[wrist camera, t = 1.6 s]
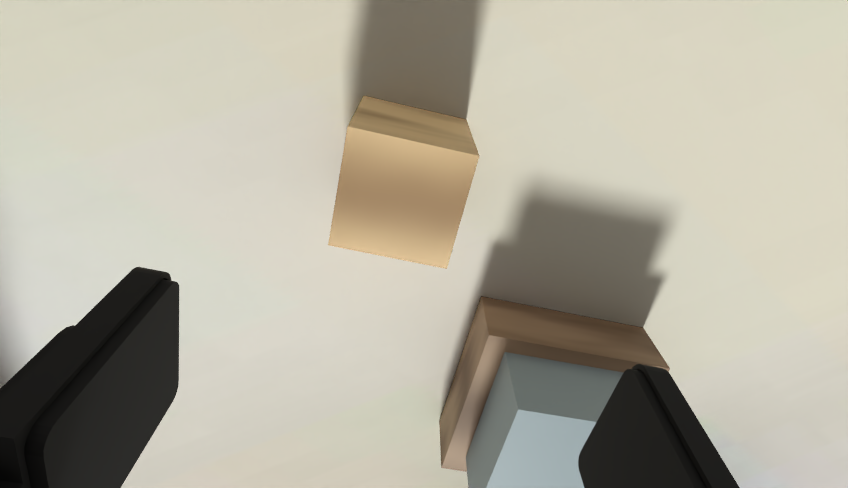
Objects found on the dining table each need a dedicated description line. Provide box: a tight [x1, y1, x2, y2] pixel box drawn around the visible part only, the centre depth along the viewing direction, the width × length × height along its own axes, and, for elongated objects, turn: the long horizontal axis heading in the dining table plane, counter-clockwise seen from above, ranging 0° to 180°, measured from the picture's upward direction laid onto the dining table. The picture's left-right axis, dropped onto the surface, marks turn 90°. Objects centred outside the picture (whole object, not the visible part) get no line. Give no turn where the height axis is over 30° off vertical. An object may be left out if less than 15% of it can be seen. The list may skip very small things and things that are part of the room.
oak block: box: [328, 96, 479, 269], centre depth 22 cm, size 5×5×6 cm
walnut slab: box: [439, 296, 670, 472], centre depth 30 cm, size 10×10×4 cm
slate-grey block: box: [466, 352, 624, 488], centre depth 26 cm, size 8×8×4 cm
